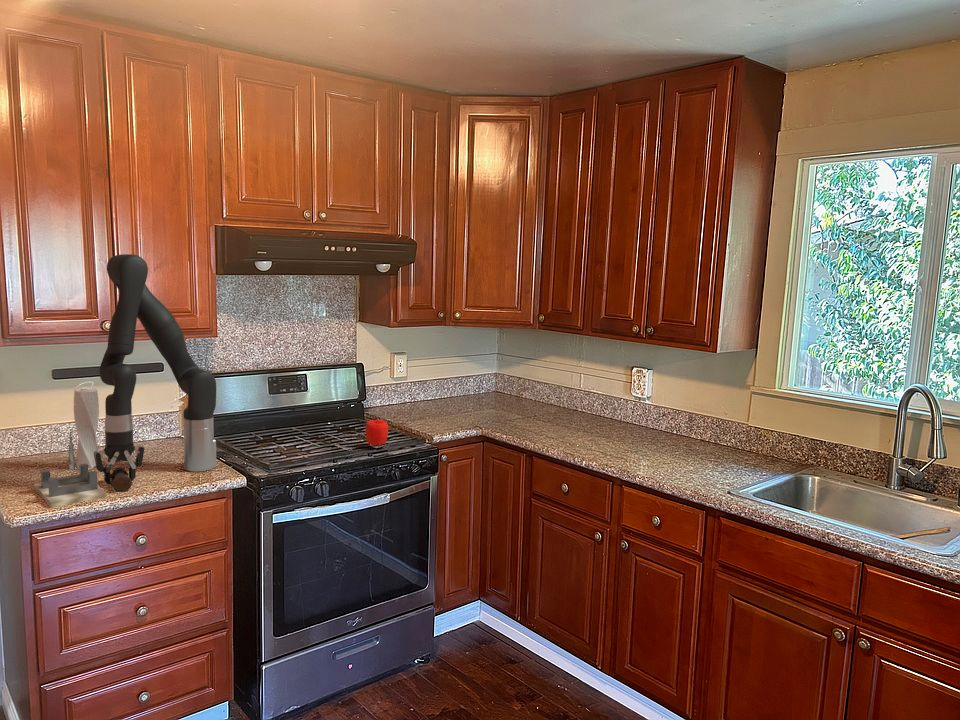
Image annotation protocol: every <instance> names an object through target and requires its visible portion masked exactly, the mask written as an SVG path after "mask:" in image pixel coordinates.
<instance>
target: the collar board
mask: <svg viewBox="0 0 960 720" xmlns="http://www.w3.org/2000/svg"><path fill="white" fill-rule="evenodd" d="M81 483H85V482H81ZM75 484H79V483H75ZM69 485H73V484H69ZM63 486H67V485H63ZM58 487H61V486H58ZM33 489H34V490H35V491H36V493H38V495H39V496H40V497H41V498H42V500H43V501H44V500H45V501H44V502H45V503H46V504H47V505H48V506H49V508H55V507H63V506H69V505H72V504H73V503H74V504H78V502H79V503H83V501H85V502H89V501H88V500H90V501H93V500H92V499H96V500H99V499H98V498H101V499H103V498H102V497H106V498H107V492H106V491H105V490H104V489H103V488H101V487H100V486H99V485H98V489H96V490H90V491H84V492H78V493H73V494H67V495H61V496H55V497H50V496H49V488H45V489H43V488H42V487H41V482H36V483H33Z"/></svg>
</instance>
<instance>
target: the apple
mask: <svg viewBox="0 0 960 720" xmlns="http://www.w3.org/2000/svg"><path fill="white" fill-rule="evenodd" d="M364 430H365V431H364V432H365V433H364V434H365V438H366V441H367V444H368V445H369V444H371V445H381V444H385V445H386V443H387V440H388V435H389V423H388V422H386V420H383V419H374V420H373V419H372V420H369V421H368V422H366V425H365V429H364Z"/></svg>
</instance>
